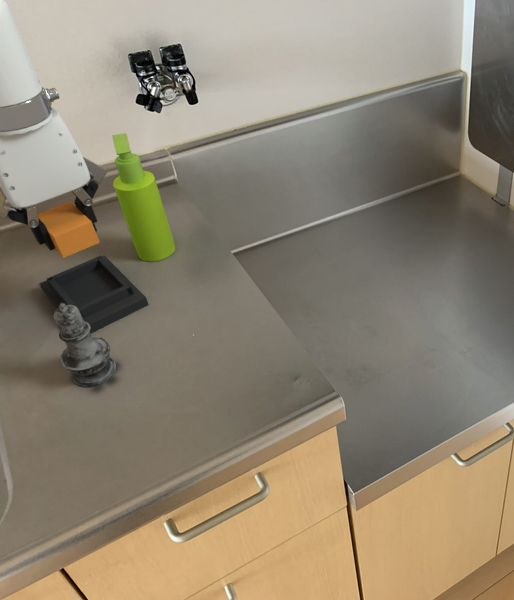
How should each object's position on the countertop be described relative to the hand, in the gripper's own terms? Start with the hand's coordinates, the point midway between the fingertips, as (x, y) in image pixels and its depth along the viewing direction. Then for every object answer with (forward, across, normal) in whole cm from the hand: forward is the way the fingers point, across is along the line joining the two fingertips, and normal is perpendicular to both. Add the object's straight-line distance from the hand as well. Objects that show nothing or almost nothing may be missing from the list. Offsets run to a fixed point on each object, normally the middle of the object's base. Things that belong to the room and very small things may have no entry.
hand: (69, 235), depth 83 cm
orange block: (+1, 0, 0) cm, 1 cm away
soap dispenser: (+11, -12, -4) cm, 17 cm away
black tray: (+11, 0, 0) cm, 11 cm away
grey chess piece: (+11, +7, +14) cm, 19 cm away
